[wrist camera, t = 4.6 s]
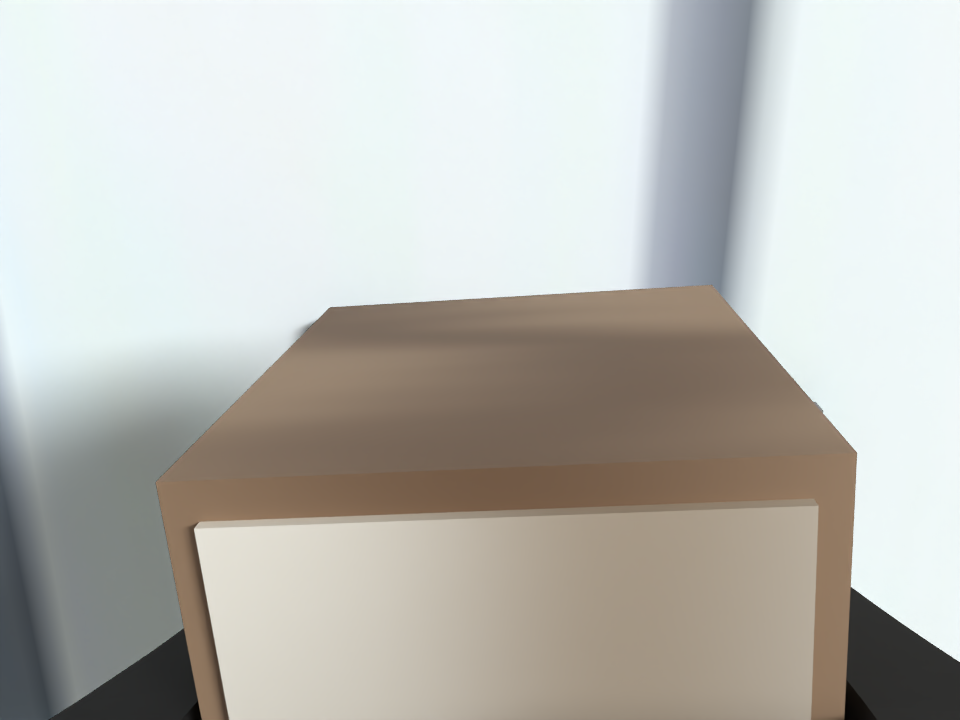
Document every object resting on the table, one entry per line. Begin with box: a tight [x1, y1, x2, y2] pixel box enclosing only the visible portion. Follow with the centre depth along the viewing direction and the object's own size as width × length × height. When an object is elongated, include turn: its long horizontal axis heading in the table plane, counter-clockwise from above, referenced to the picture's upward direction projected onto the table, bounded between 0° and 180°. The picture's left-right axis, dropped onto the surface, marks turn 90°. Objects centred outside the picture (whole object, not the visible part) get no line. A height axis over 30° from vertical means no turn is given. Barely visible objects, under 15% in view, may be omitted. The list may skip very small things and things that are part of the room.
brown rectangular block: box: [156, 285, 857, 720], centre depth 9 cm, size 4×7×5 cm, turn 5°
